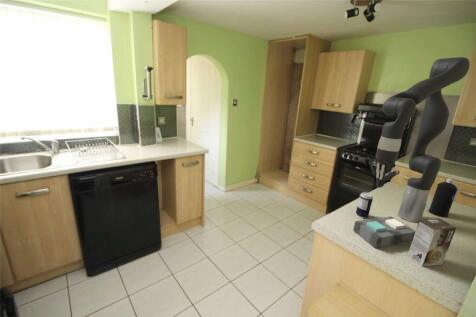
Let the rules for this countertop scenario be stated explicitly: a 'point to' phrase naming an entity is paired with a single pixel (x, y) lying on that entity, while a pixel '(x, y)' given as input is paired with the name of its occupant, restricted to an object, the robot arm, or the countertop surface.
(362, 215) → the beverage can
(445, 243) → the coffee box
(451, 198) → the aerosol can
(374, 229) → the teal key
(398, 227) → the cream key
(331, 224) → the countertop surface
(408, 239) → the key console
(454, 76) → the robot arm
